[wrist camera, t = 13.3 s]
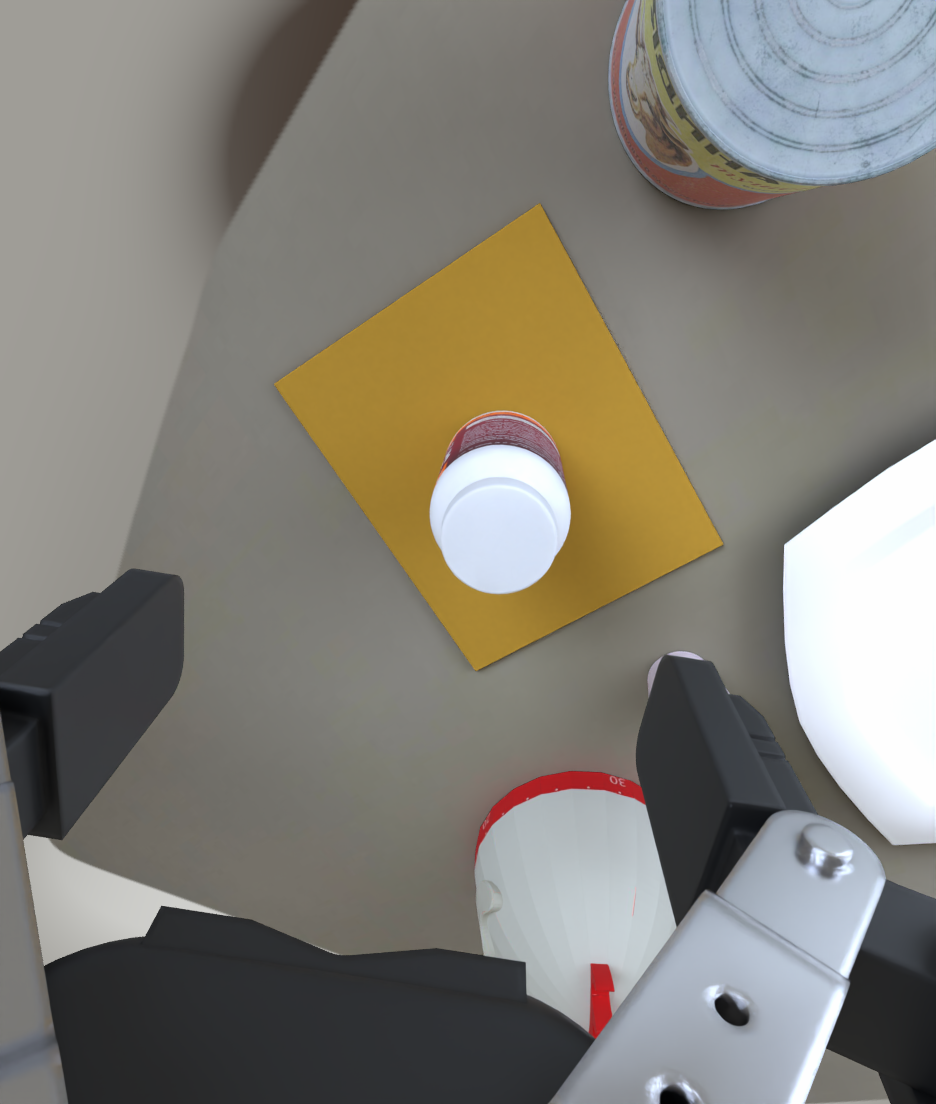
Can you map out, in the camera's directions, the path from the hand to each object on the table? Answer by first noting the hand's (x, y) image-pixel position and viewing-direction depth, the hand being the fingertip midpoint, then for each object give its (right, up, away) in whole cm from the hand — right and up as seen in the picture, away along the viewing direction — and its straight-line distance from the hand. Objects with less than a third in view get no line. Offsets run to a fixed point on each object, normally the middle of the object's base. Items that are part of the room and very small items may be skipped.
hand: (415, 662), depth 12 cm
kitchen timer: (+8, -19, +37) cm, 42 cm away
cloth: (+3, +6, +27) cm, 28 cm away
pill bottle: (+3, +6, +27) cm, 28 cm away
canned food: (+13, +23, +20) cm, 33 cm away
